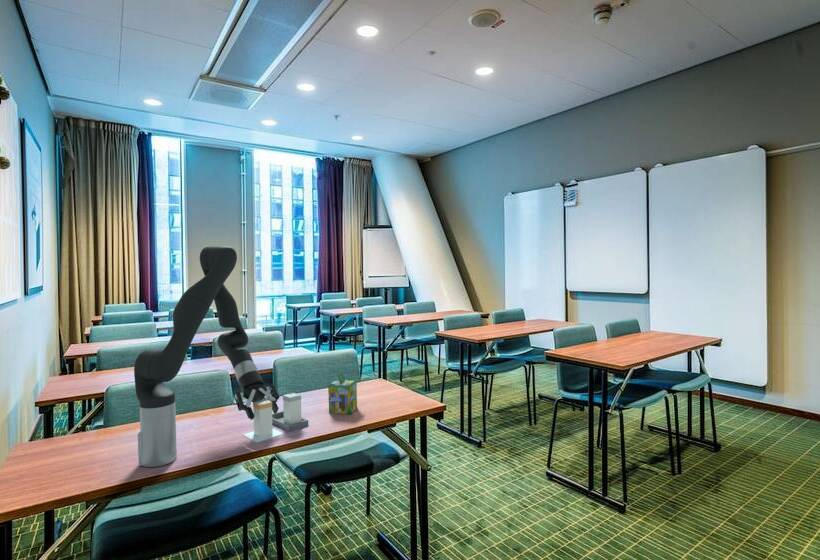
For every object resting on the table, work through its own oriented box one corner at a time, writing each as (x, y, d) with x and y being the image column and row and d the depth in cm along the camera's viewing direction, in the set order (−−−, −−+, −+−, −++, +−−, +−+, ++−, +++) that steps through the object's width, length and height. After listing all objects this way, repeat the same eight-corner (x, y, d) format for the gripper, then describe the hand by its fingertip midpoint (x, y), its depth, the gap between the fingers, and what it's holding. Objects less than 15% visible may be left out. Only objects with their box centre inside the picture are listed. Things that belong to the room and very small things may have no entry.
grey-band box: (283, 425, 160) (283, 395, 159) (294, 422, 163) (294, 392, 163) (290, 428, 156) (289, 397, 156) (301, 425, 160) (301, 394, 159)
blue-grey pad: (242, 435, 151) (242, 434, 151) (269, 427, 158) (269, 426, 158) (256, 443, 144) (256, 442, 144) (284, 435, 151) (284, 433, 151)
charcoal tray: (266, 421, 165) (265, 415, 165) (285, 416, 171) (285, 410, 171) (288, 432, 154) (288, 425, 154) (308, 426, 160) (308, 420, 160)
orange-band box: (253, 434, 151) (252, 402, 151) (266, 430, 155) (265, 399, 154) (260, 437, 148) (259, 405, 148) (272, 433, 151) (272, 402, 151)
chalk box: (350, 415, 171) (349, 377, 170) (328, 414, 173) (327, 376, 172) (358, 407, 180) (357, 371, 179) (336, 406, 182) (336, 371, 181)
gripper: (231, 373, 151) (248, 414, 143) (270, 366, 161) (287, 404, 153) (225, 386, 155) (241, 426, 147) (263, 378, 165) (279, 416, 157)
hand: (264, 415), depth 150 cm, fingers open, 8 cm apart
